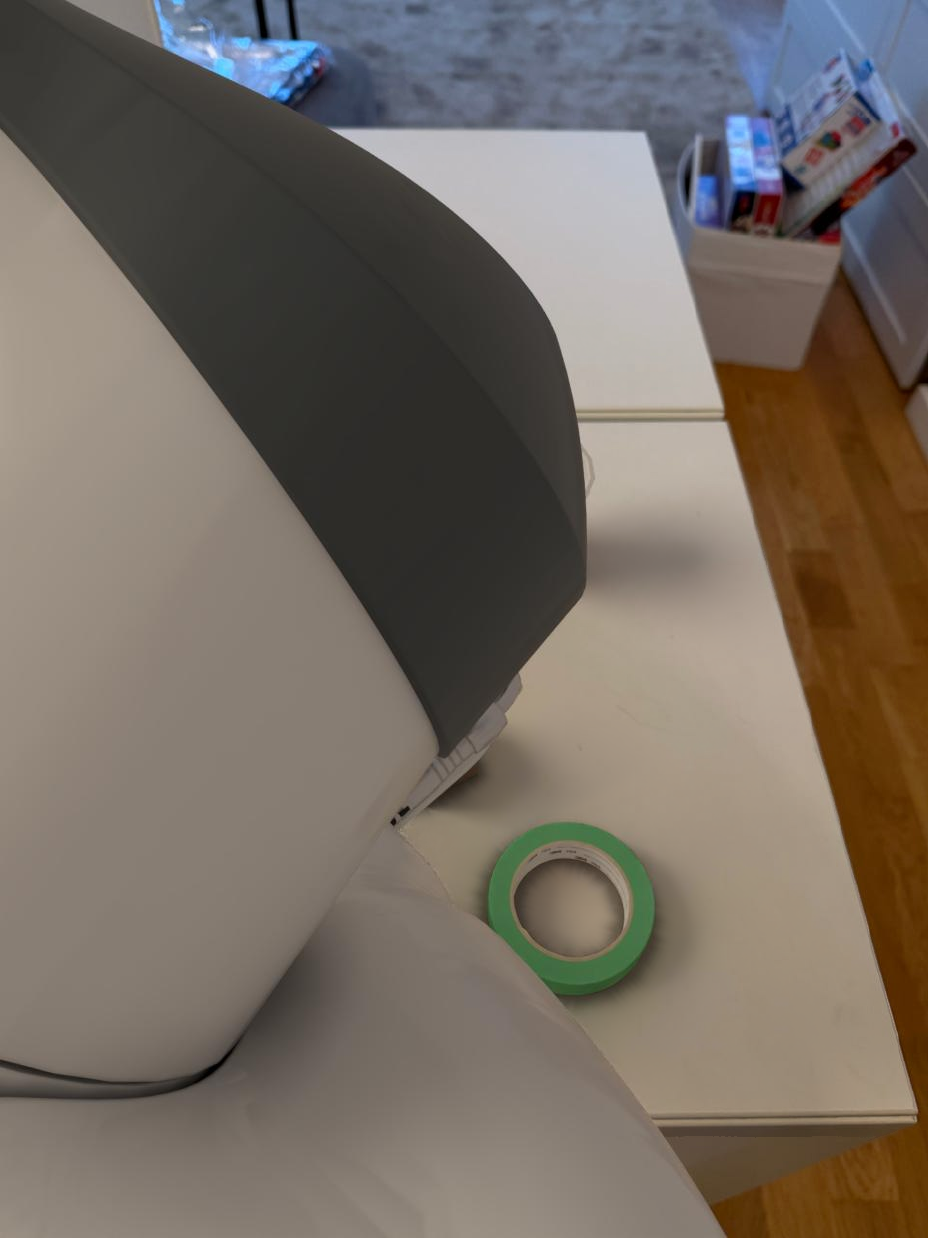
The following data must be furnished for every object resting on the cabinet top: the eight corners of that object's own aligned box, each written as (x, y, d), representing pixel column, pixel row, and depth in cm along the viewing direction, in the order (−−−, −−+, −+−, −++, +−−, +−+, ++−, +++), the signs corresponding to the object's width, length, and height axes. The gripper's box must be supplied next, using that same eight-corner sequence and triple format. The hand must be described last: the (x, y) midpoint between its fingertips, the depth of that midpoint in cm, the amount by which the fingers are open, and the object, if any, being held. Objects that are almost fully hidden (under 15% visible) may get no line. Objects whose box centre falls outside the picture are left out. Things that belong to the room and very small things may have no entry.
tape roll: (477, 983, 60) (478, 971, 58) (496, 827, 67) (498, 811, 65) (647, 1007, 60) (654, 996, 57) (650, 847, 66) (656, 832, 64)
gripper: (492, 597, 26) (341, 549, 38) (-190, 1154, 21) (-108, 890, 33) (595, 760, 28) (421, 665, 40) (7, 1293, 23) (14, 998, 35)
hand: (180, 768), depth 37 cm, fingers open, 8 cm apart
